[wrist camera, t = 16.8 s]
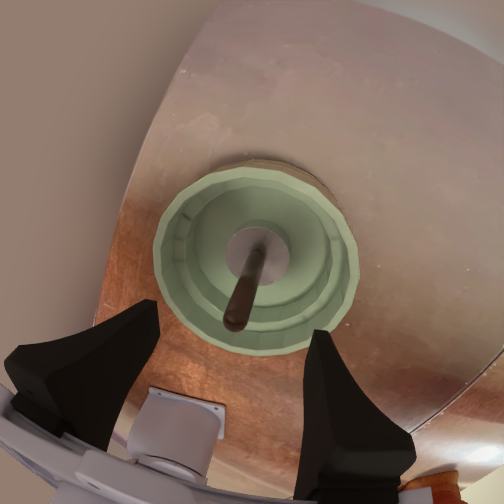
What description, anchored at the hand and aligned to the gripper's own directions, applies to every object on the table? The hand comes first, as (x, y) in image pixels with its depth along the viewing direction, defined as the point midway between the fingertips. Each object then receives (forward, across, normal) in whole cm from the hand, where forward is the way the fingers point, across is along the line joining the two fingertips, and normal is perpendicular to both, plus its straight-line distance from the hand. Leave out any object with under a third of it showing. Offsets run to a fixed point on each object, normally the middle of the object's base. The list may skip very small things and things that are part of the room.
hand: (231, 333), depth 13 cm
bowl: (+10, 0, 0) cm, 10 cm away
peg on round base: (+10, 0, 0) cm, 10 cm away
